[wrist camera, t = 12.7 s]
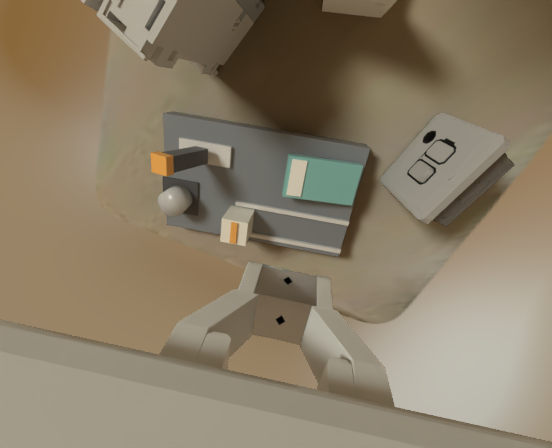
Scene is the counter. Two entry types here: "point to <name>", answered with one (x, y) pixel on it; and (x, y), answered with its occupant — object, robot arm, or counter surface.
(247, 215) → the cream cube orange stripe
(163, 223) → the counter surface
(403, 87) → the counter surface
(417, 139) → the electrical switch
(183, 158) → the toggle lever
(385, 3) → the white angled block
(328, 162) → the teal tile cream strip
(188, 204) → the button
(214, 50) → the circuit breaker
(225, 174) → the panel
